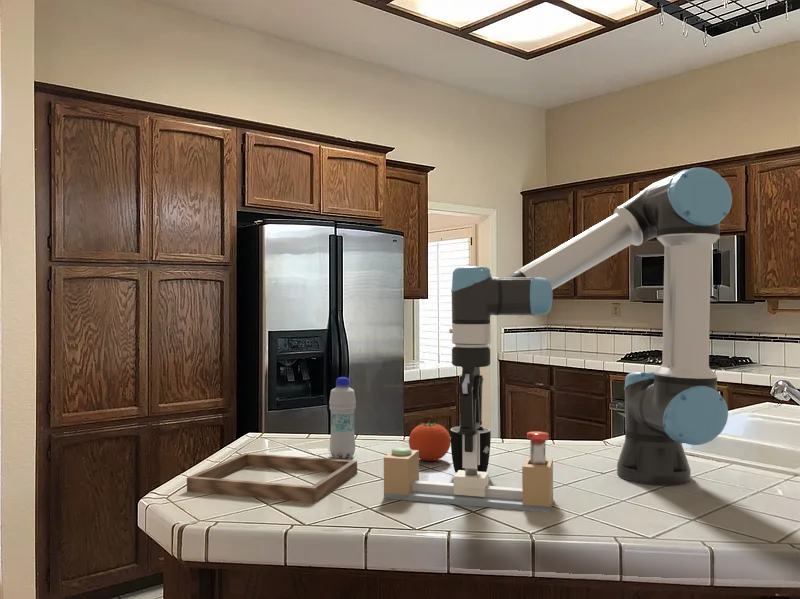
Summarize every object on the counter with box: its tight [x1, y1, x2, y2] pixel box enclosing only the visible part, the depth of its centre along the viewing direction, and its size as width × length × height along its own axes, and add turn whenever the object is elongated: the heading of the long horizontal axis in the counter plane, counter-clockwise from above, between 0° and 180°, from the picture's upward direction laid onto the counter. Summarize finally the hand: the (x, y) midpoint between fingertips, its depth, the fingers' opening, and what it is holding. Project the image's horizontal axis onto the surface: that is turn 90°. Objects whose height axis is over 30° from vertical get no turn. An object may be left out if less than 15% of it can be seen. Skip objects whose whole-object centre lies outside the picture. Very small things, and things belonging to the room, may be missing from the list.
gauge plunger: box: [526, 431, 550, 465], centre depth 126 cm, size 4×4×9 cm
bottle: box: [328, 376, 357, 460], centre depth 166 cm, size 7×7×20 cm
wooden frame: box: [186, 452, 358, 504], centre depth 143 cm, size 28×23×3 cm
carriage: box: [453, 422, 490, 497], centre depth 130 cm, size 6×5×14 cm
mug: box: [449, 425, 492, 474], centre depth 150 cm, size 12×9×10 cm
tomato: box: [408, 419, 451, 462], centre depth 162 cm, size 10×10×10 cm
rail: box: [383, 447, 554, 513], centre depth 130 cm, size 32×8×9 cm, turn 73°
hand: (471, 465), depth 130 cm, fingers closed on carriage, 2 cm apart
